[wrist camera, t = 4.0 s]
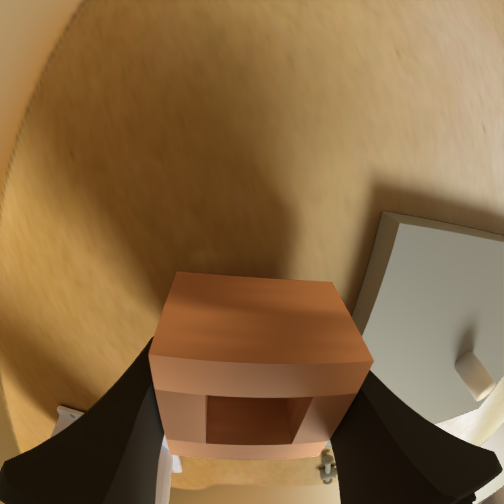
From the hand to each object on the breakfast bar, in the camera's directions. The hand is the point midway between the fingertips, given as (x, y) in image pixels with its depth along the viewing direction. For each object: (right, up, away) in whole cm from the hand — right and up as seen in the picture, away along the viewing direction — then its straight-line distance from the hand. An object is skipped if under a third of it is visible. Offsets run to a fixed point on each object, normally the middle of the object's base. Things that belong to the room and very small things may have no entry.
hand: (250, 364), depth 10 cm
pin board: (+13, -2, +5) cm, 15 cm away
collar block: (0, +1, +1) cm, 1 cm away
